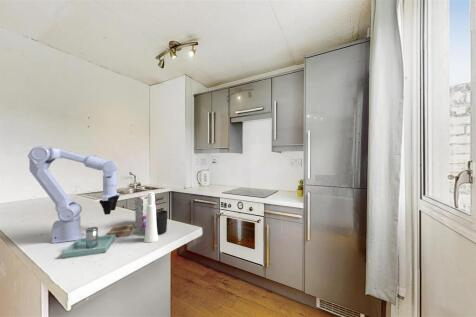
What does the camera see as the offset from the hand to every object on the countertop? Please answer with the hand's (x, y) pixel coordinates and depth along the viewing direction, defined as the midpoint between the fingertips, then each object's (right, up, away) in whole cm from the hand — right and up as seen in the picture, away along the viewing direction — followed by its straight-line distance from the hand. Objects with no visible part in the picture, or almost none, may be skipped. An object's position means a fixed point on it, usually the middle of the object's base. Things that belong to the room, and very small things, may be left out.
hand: (110, 212), depth 96 cm
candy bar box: (+13, -11, +11) cm, 20 cm away
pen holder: (+23, -11, +1) cm, 26 cm away
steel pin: (+3, -10, -16) cm, 19 cm away
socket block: (+6, -10, -1) cm, 12 cm away
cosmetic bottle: (+24, -11, -8) cm, 28 cm away
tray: (+3, -11, -16) cm, 19 cm away
